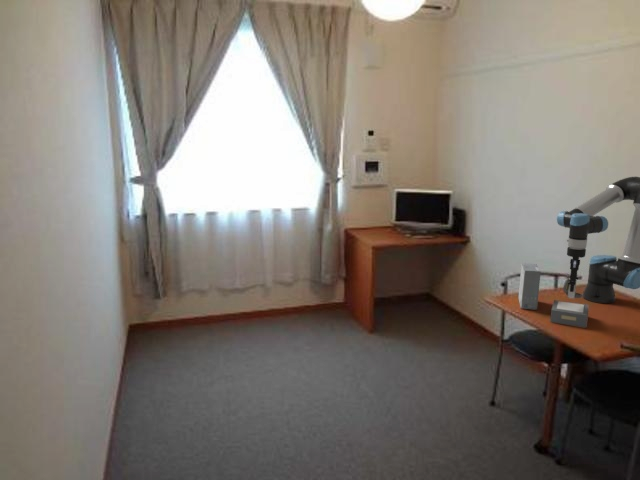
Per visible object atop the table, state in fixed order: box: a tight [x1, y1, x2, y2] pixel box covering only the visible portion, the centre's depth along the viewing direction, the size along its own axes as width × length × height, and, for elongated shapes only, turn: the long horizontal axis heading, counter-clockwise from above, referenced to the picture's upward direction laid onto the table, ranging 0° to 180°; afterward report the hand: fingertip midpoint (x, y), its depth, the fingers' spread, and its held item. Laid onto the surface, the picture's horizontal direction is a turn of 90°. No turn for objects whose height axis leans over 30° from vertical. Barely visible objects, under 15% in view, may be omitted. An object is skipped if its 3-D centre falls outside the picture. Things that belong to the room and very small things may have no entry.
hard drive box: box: [518, 262, 542, 311], centre depth 255 cm, size 16×8×20 cm, turn 164°
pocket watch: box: [562, 273, 583, 299], centre depth 233 cm, size 8×8×10 cm
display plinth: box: [549, 299, 590, 329], centre depth 236 cm, size 15×15×6 cm
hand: (571, 295), depth 234 cm, fingers closed on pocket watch, 7 cm apart
